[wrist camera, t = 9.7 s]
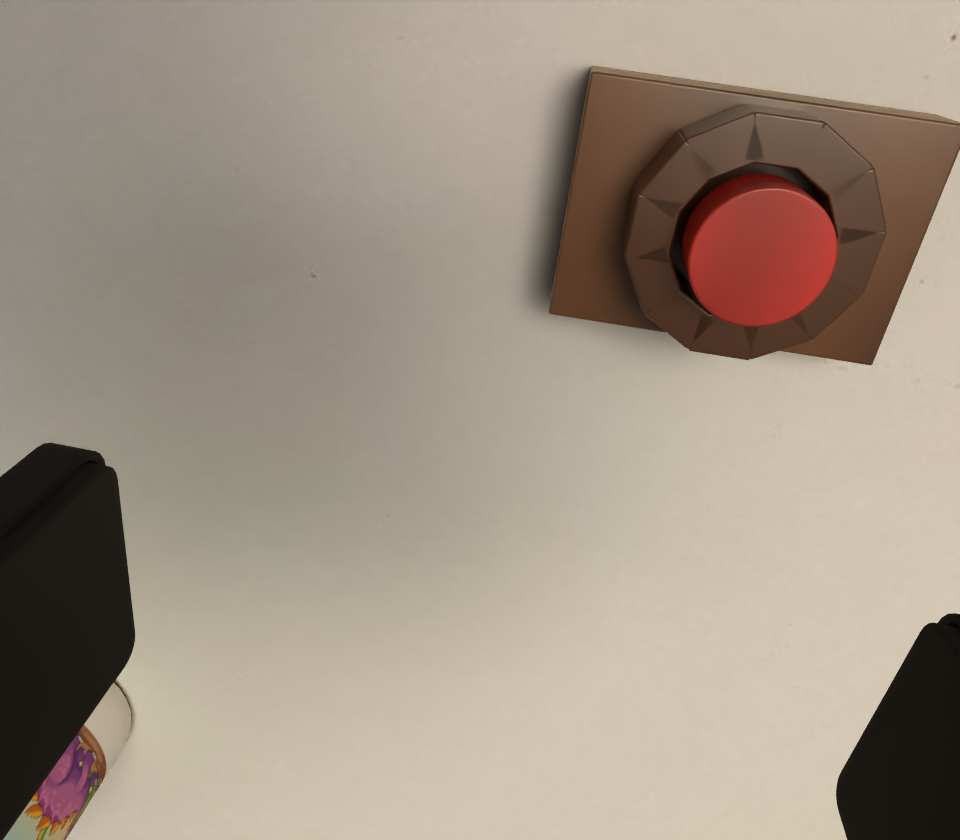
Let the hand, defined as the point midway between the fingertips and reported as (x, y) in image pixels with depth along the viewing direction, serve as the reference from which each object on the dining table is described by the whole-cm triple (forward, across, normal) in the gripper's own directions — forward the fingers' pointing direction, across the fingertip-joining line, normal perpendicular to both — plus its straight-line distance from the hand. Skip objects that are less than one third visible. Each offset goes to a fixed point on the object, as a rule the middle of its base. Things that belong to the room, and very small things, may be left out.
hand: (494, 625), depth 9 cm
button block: (+18, -5, -1) cm, 19 cm away
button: (+15, -5, -1) cm, 16 cm away
